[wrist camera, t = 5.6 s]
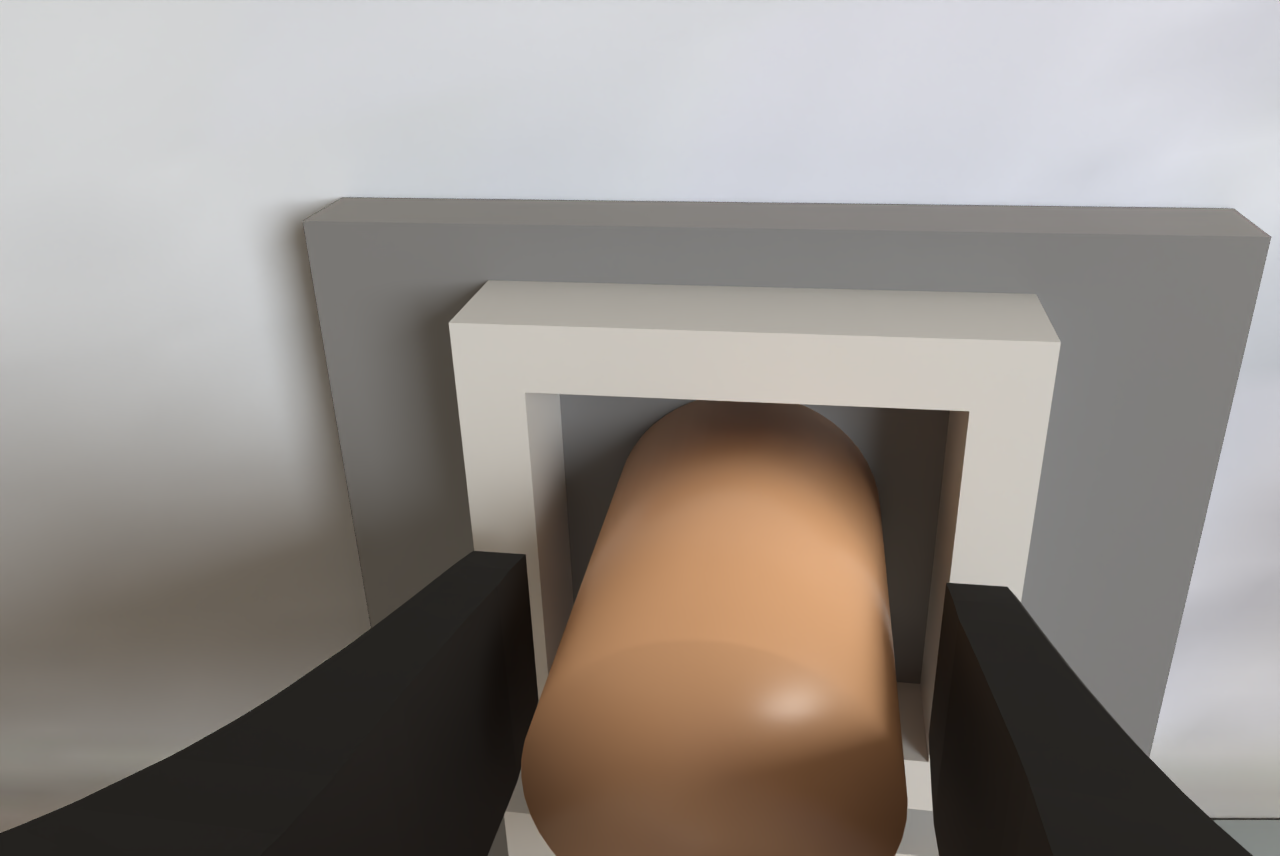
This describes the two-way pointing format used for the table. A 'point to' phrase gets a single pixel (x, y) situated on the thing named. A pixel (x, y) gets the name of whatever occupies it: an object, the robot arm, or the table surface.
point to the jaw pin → (727, 653)
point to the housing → (802, 400)
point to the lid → (1254, 835)
